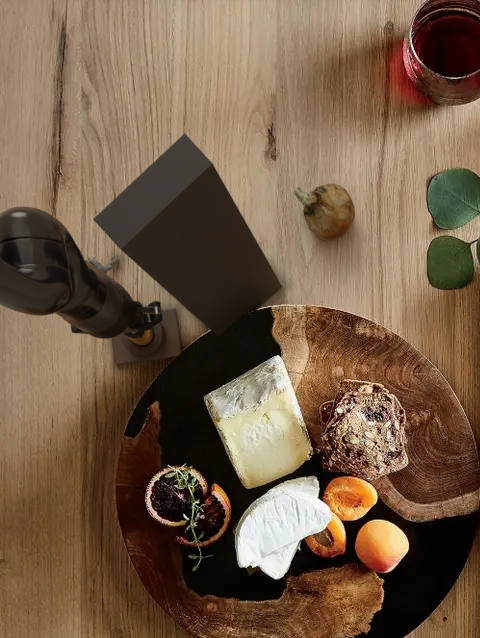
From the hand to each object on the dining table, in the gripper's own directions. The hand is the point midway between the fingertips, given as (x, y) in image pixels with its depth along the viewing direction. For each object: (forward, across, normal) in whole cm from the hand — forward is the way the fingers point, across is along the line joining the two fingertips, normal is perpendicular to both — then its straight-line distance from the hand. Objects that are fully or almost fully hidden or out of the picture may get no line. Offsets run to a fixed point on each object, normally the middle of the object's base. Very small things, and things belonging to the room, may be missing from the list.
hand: (137, 331), depth 119 cm
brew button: (+2, 0, 0) cm, 2 cm away
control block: (+4, 0, 0) cm, 4 cm away
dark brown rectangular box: (+4, +12, +8) cm, 15 cm away
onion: (+4, +30, +13) cm, 33 cm away
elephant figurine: (+4, -7, +10) cm, 13 cm away
